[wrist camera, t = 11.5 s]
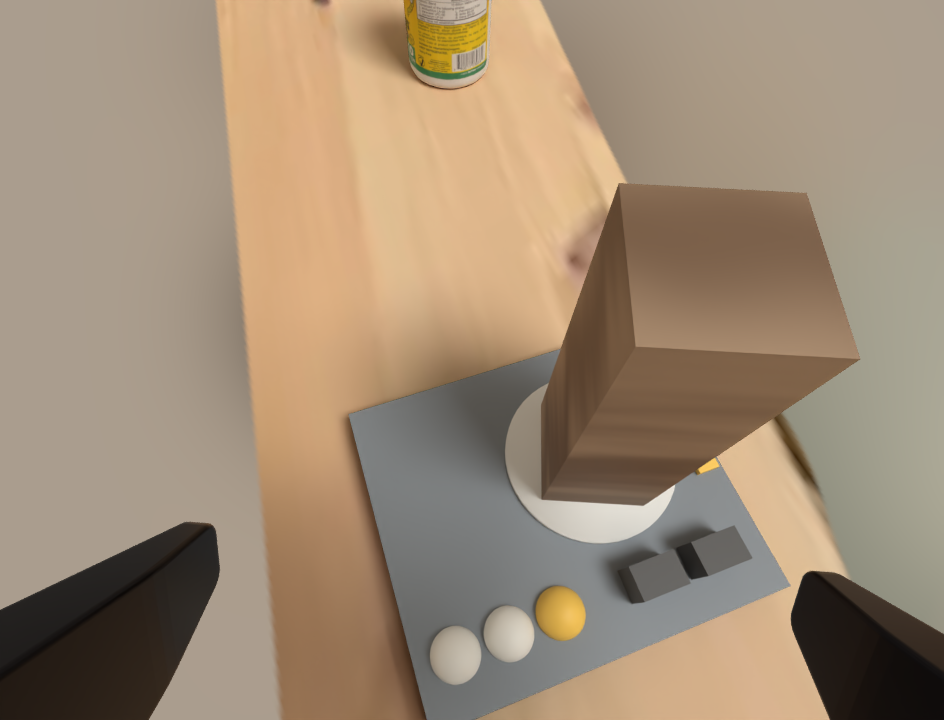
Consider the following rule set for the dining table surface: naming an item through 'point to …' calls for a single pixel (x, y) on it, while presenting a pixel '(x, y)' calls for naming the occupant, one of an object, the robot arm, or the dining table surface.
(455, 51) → the supplement bottle
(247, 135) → the dining table surface
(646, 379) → the post
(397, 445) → the panel
